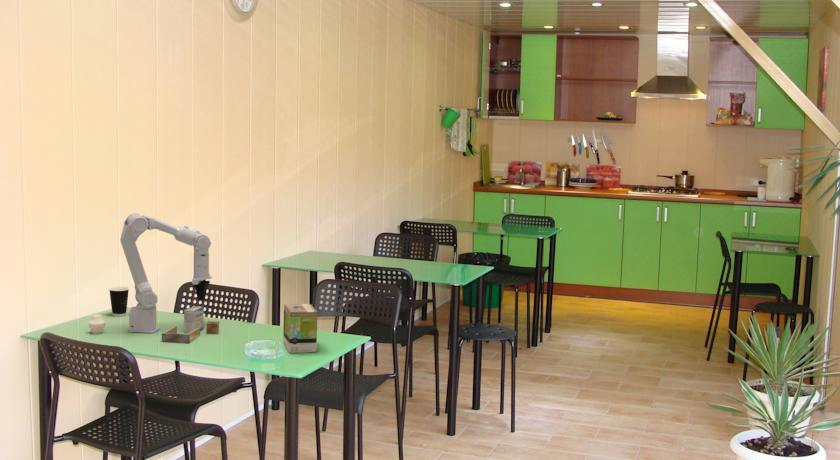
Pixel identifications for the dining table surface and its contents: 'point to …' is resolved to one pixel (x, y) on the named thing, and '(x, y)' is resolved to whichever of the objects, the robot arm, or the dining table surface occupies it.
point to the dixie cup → (119, 300)
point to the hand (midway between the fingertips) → (201, 299)
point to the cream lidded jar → (97, 324)
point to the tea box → (300, 328)
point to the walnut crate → (212, 327)
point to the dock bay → (179, 335)
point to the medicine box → (193, 318)
